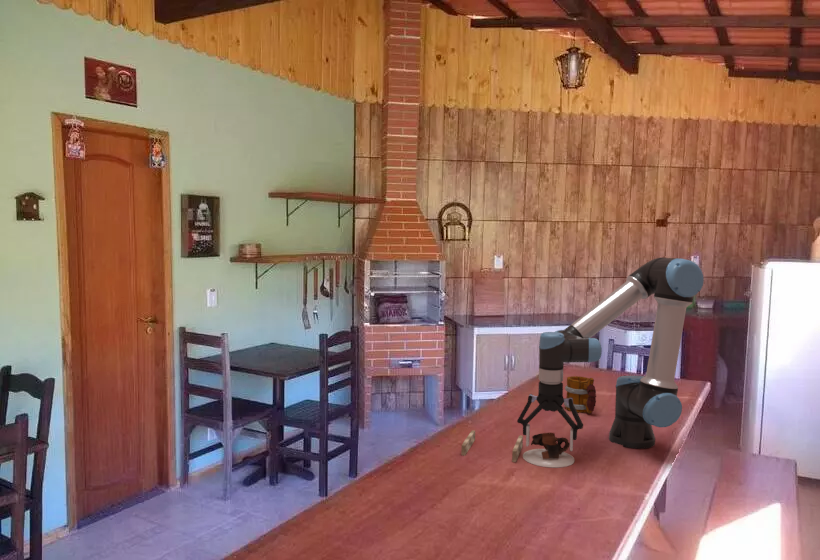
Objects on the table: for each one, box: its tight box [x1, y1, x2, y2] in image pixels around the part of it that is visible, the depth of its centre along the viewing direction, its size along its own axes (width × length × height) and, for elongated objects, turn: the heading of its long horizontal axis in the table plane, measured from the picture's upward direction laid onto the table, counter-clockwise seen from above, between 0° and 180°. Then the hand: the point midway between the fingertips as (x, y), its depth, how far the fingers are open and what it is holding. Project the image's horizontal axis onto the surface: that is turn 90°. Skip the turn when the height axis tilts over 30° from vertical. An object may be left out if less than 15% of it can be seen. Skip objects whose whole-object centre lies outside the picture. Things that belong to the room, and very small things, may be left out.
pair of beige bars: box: [461, 429, 524, 463], centre depth 206 cm, size 16×17×4 cm
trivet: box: [522, 448, 575, 469], centre depth 200 cm, size 16×16×1 cm
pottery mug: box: [530, 432, 570, 459], centre depth 202 cm, size 12×9×8 cm
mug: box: [563, 375, 597, 415], centre depth 253 cm, size 11×16×15 cm, turn 18°
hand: (549, 447), depth 200 cm, fingers open, 13 cm apart
